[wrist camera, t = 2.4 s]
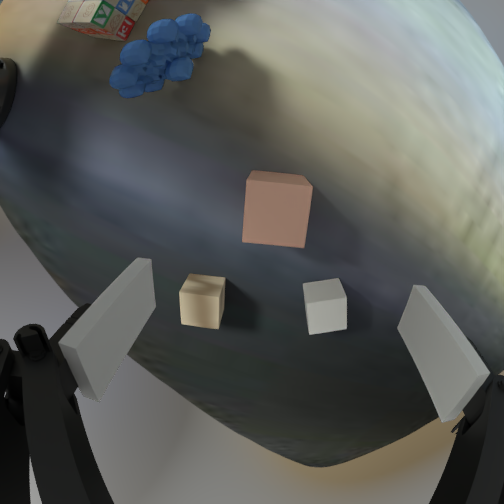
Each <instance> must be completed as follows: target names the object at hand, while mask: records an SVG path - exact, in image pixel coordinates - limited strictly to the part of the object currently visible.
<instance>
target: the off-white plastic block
mask: <svg viewBox="0 0 504 504" xmlns="http://www.w3.org/2000/svg"><path fill="white" fill-rule="evenodd" d="M303 291H304V300H305V310H306V317H307V323H308V330H309V335H311V334H318V333H325V332H331V331H337V330H343V329H347V297H346V294H345V292H344V289H343V287H342V285H341V282H340V280H339V278H335V279H329V280H322V281H316V282H309V283H303Z"/></svg>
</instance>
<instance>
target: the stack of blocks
mask: <svg viewBox="0 0 504 504" xmlns="http://www.w3.org/2000/svg"><path fill="white" fill-rule="evenodd" d="M148 1H149V0H68V3H67V4H66V6H65V8H64V10H63V12H62V13H61V15H60V17H59V19H58V21H57V23H58V24H61V25H64V26H66V27H69V28H71V29H73V30H76V31H78V32H81V33H84V34H87V35H89V36H92V37H94V38H104V39H112V40H120V41H126V40H127V37H128V35H129V33H130V32H131V30H132V28H133V26H134V24H135V22H136V21H137V20H138V18H139V16H140V14H141V13H142V11H143V9H144V8H145V5H146V4H147V3H148Z"/></svg>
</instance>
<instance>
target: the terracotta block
mask: <svg viewBox="0 0 504 504" xmlns="http://www.w3.org/2000/svg"><path fill="white" fill-rule="evenodd" d="M312 190H313V186H312V185H311V184H310V183H309V182H308V180H307V179H306V178H305V177H304V176H303V175H296V174H287V173H277V172H267V171H256V170H252V172H251V173H250V175H249V177H248V178H247V181H246V194H245V208H244V221H243V236H242V242H247V243H258V244H268V245H278V246H288V247H298V248H304V246H305V239H306V233H307V226H308V219H309V212H310V205H311V198H312Z"/></svg>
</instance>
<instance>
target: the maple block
mask: <svg viewBox="0 0 504 504" xmlns="http://www.w3.org/2000/svg"><path fill="white" fill-rule="evenodd" d="M179 295H180V311H181V324H185V325H192V326H199V327H206V328H213V329H219V326H220V322H221V318H222V315H223V311H224V300H225V278H224V277H215V276H206V275H197V274H189V276H188V277H187V279H186V281H185V283H184V285H183V286H182V288H181V290H180V292H179Z"/></svg>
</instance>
